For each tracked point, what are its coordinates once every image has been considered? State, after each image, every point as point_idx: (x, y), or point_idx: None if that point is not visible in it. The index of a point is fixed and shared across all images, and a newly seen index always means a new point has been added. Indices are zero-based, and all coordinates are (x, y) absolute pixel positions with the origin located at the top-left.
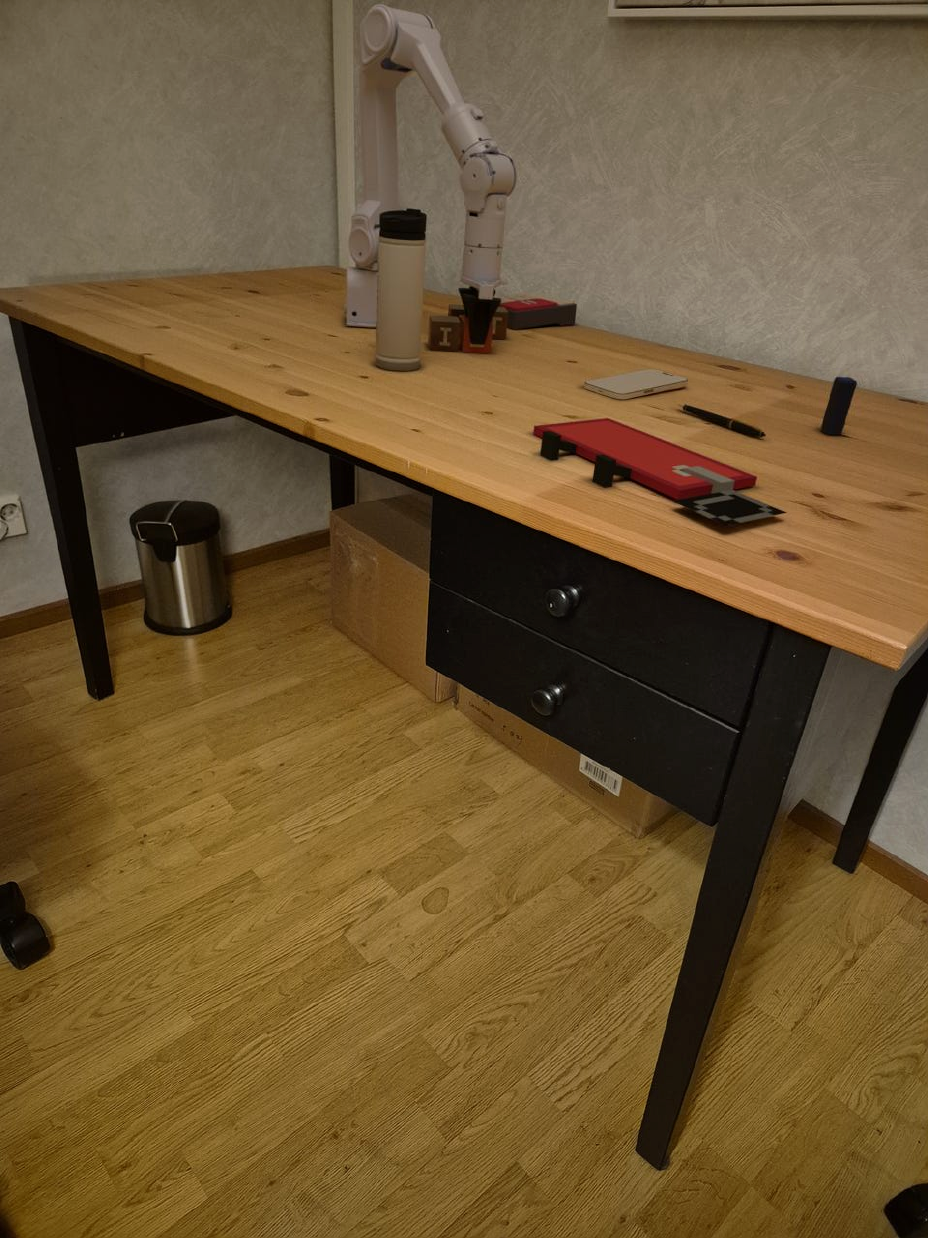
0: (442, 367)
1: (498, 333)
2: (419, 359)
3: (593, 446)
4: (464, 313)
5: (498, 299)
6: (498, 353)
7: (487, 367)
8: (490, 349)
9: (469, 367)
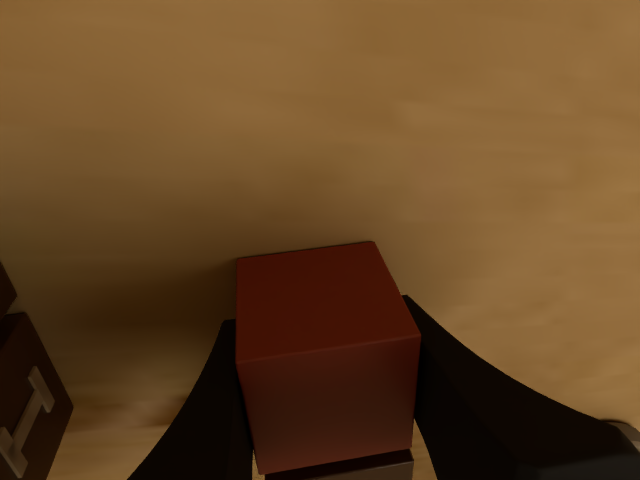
0: (601, 373)
1: None
2: (635, 442)
3: None
4: (1, 470)
5: (616, 470)
6: (358, 205)
7: (617, 249)
8: (378, 252)
9: (610, 305)
